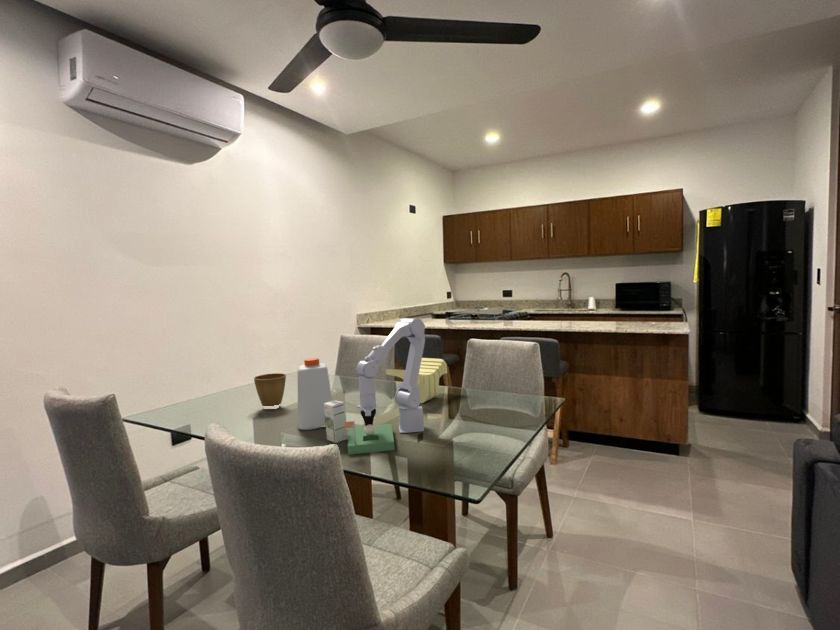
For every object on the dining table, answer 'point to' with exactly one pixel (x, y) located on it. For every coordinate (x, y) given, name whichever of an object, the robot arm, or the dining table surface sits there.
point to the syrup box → (335, 421)
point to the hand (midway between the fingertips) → (369, 429)
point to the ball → (369, 429)
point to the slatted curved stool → (426, 377)
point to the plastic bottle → (312, 394)
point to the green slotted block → (369, 439)
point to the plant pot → (270, 388)
